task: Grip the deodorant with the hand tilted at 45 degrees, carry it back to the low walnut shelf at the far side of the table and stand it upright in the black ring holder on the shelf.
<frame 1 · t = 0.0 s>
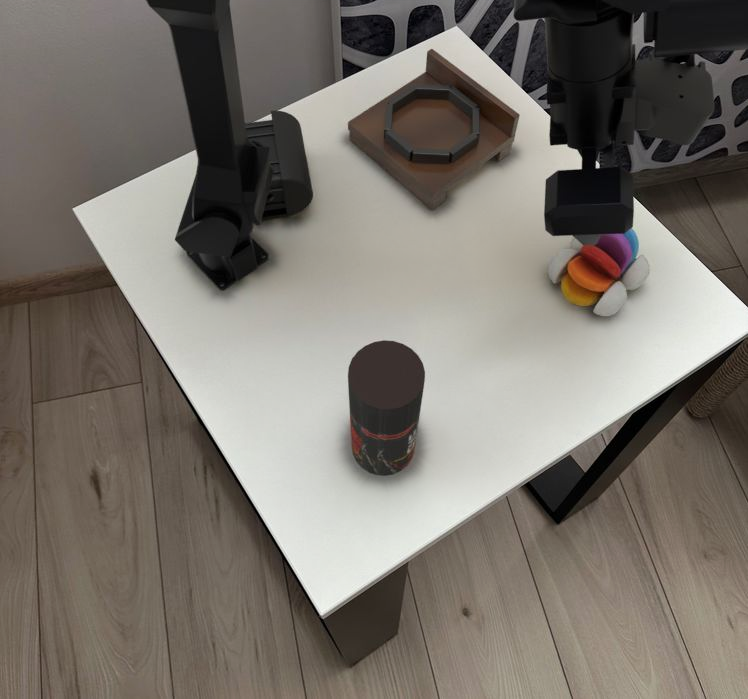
hand: (590, 200, 67), 15 cm above the table, tool pointing down, fingers open, 9 cm apart
rainbow disc toy: (592, 281, 81), on the table
shelf: (429, 146, 90), on the table
deodorant: (383, 446, 72), on the table
end cap: (278, 187, 87), on the table
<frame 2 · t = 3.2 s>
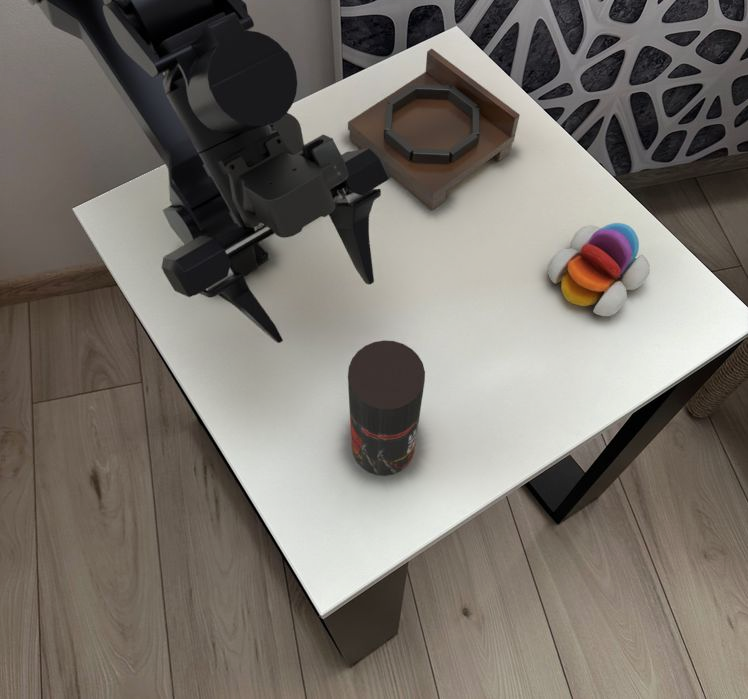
hand: (325, 311, 63), 14 cm above the table, tool tilted 45°, fingers open, 9 cm apart
nothing on the table moved.
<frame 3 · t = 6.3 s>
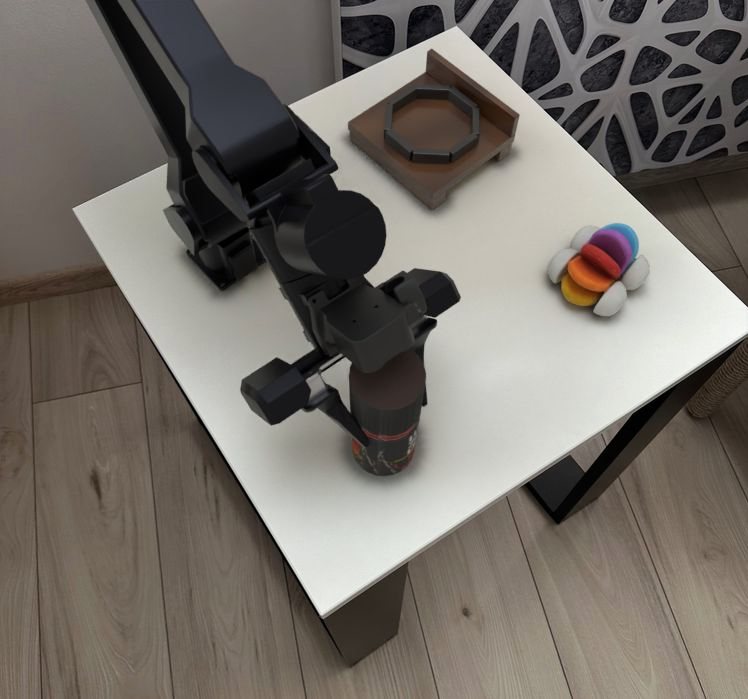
hand: (394, 425, 65), 8 cm above the table, tool tilted 45°, fingers closed on deodorant, 6 cm apart
deodorant: (383, 446, 72), on the table, touching gripper
everything else where it was.
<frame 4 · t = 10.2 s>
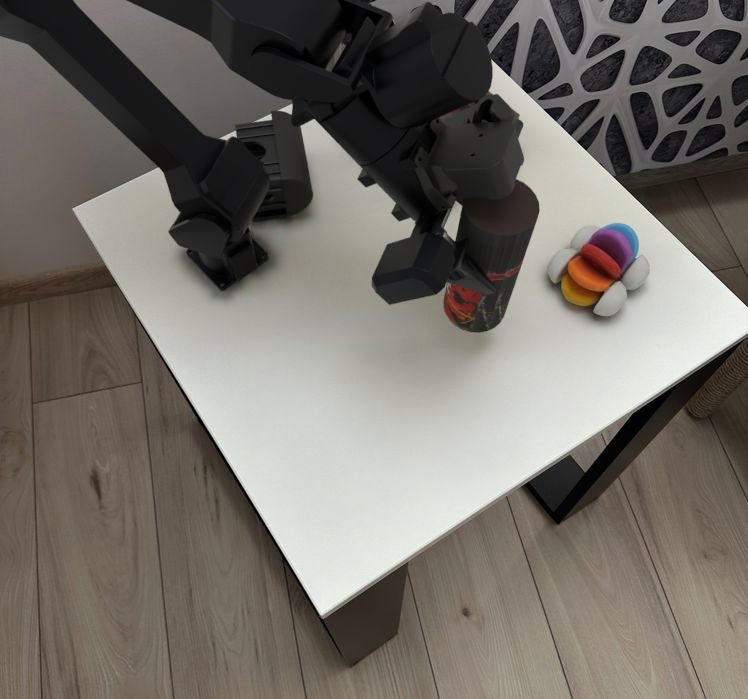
hand: (501, 264, 66), 13 cm above the table, tool tilted 45°, fingers closed on deodorant, 6 cm apart
deodorant: (474, 306, 73), point 5 cm above the table, touching gripper
everything else where it was.
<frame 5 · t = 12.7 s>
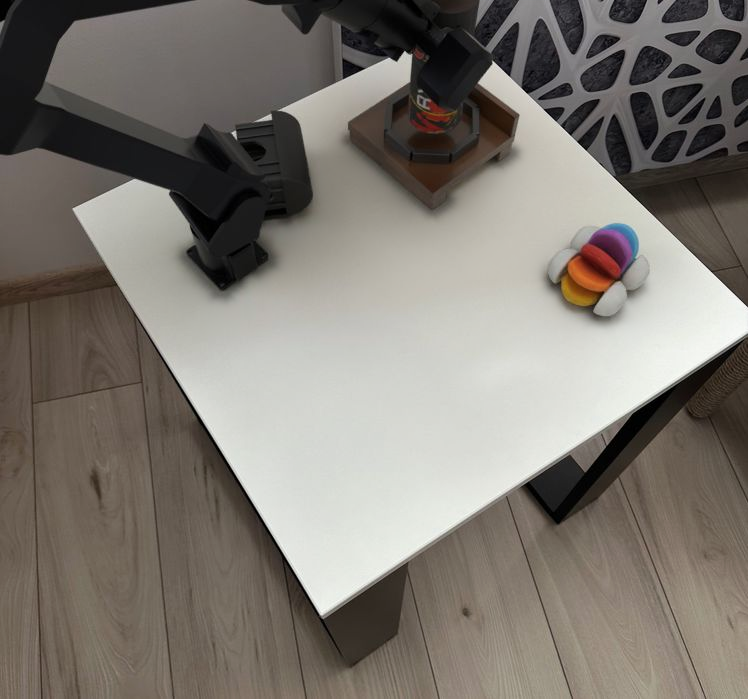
hand: (451, 52, 78), 13 cm above the table, tool tilted 45°, fingers closed on deodorant, 6 cm apart
deodorant: (434, 115, 85), point 5 cm above the table, touching gripper
everything else where it was.
when the fingers open (11 cm above the table, at t = 14.4 s): deodorant stays where it is, resting on shelf.
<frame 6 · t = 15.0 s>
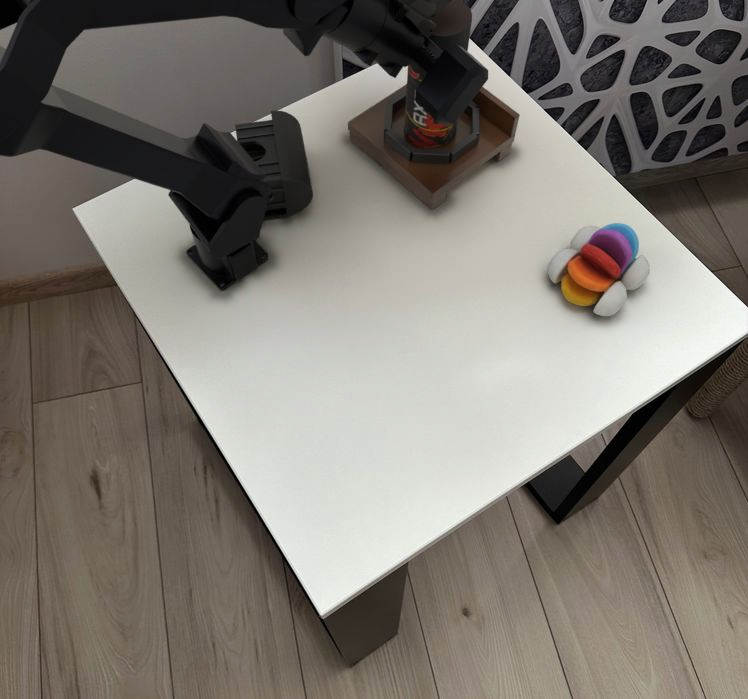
hand: (447, 65, 81), 11 cm above the table, tool tilted 45°, fingers open, 9 cm apart
deodorant: (430, 129, 87), point 3 cm above the table, touching shelf
everything else where it was.
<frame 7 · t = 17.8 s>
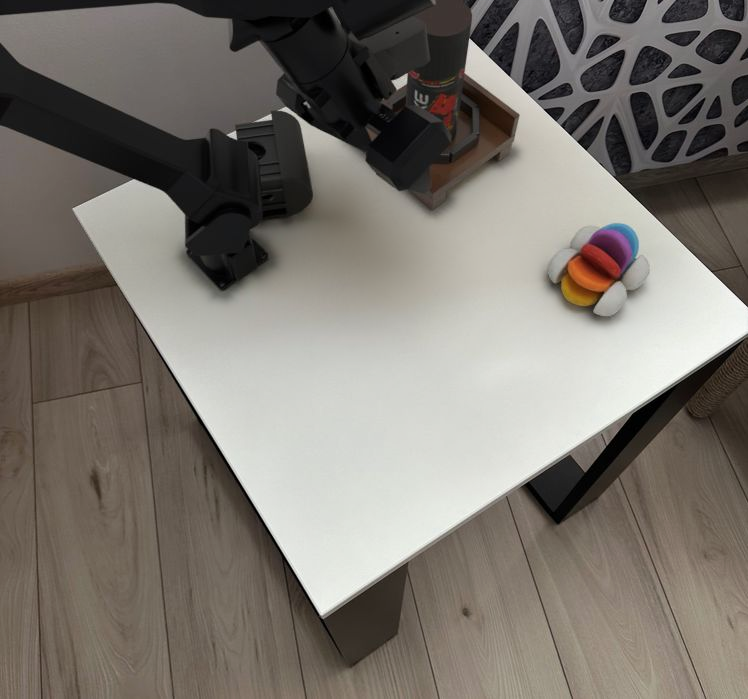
hand: (396, 168, 73), 12 cm above the table, tool tilted 25°, fingers open, 9 cm apart
nothing on the table moved.
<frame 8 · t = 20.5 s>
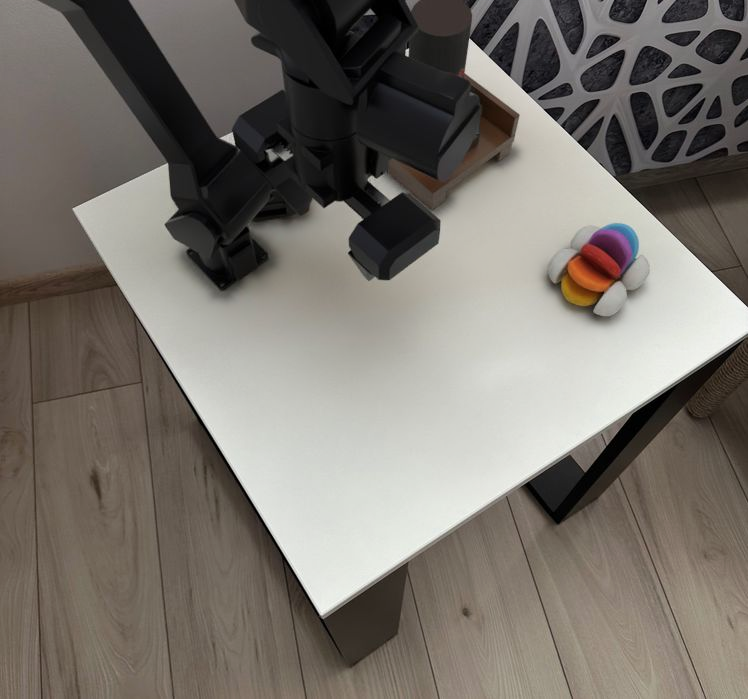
hand: (337, 244, 67), 13 cm above the table, tool pointing down, fingers open, 9 cm apart
nothing on the table moved.
at the end: deodorant 0.1 cm off-centre on the shelf, point 2.8 cm above the shelf's base; deodorant tilted 0° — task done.
